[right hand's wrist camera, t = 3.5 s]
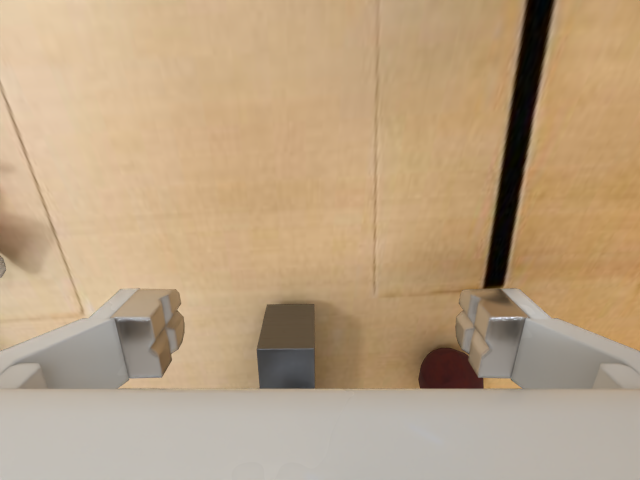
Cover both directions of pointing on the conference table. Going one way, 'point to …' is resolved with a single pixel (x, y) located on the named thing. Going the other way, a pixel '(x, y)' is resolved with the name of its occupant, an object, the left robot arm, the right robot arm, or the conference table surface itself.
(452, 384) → the potato
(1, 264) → the fish
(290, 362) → the bar
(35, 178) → the conference table surface
